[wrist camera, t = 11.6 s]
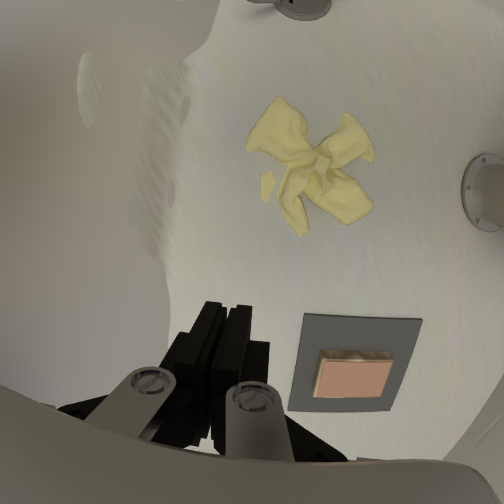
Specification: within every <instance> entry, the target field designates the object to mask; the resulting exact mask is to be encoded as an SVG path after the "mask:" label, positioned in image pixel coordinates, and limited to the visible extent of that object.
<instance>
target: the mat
mask: <svg viewBox="0 0 504 504" xmlns="http://www.w3.org/2000/svg"><path fill="white" fill-rule="evenodd" d="M422 321H423V320H422V319H414V318H379V317H356V316H338V315H321V314H307V313H304V318H303V325H302V331H301V338H300V344H299V350H298V356H297V362H296V367H295V373H294V378H293V384H292V389H291V394H290V400H289V405H288V411H297V412H375V411H390V409H391V407H392V404H393V402H394V400H395V397H396V395H397V393H398V390H399V388H400V385H401V383H402V380H403V378H404V375H405V372H406V370H407V367H408V364H409V361H410V359H411V356H412V353H413V350H414V347H415V344H416V341H417V338H418V335H419V331H420V328H421V325H422ZM320 350H336V351H390V353H391V355H392V357H393V359H394V361H393V364H392V367H391V370H390V373H389V376H388V379H387V381H386V384H385V387H384V389H383V392H382V395H381V397H366V398H323V397H313V392H312V386H313V382H314V377H315V373H316V368H317V364H318V359H319V354H320Z"/></svg>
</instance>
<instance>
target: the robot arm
mask: <svg viewBox="0 0 504 504" xmlns="http://www.w3.org/2000/svg"><path fill="white" fill-rule="evenodd" d="M462 200H463V205H464V209H465V212H466V214H467V216H468V218H469V220H470V221H471V222H472V224H473V225H474V226H475V227H477V228H479V229H480V230H483V231H486V232H495V231H498V230H500V229H501V228H503V227H504V160H503V159H502V158H500V157H499V156H497V155H494V154H483V155H479V156H478V157H476V158H475V159H474V160H473V161H472V162H471V163H470V164H469V166H468V167H467V170H466V172H465V175H464V178H463V184H462ZM251 319H252V306H248V305H238V304H237V307H236V308H231V309H230V312H229V315H228V318H227V307H222V303H219V302H210V301H206V303H205V304H204V306H203V308H202V310H201V312H200V314H199V315H198V317H197V319H196V321H195V323H194V325H193V327H192V328H191V330H190V332H189V333H186V332H179V333H178V335H177V337H176V338H175V340H174V342H173V343H172V345H171V347H170V348H169V350H168V352H167V354H166V355H165V357H164V359H163V360H162V362H161V364H160V366H159V367H143V368H139V369H137V370H135V371H133V372H132V373H130V374H129V375H128V376H127V377H126V378H125V379H124V380H123V381H122V382H121V383H120V384H119V385H118V386H117V387H116V388H115V389H114V391H112V392H111V393H110V394H109V395H105V396H101V397H98V398H94V399H89V400H85V401H82V402H77V403H73V404H69V405H65V406H62V407H60V408H58V409H56V407H55V406H53V405H48V404H43V403H39V402H37V401H35V400H33V399H31V398H28V397H26V396H24V395H22V394H20V393H18V392H16V391H13V390H11V389H9V388H7V387H5V386H3V385H0V504H501V502H500V500H499V498H498V497H497V495H496V493H495V492H494V490H493V489H492V487H491V486H490V484H489V483H488V481H487V480H486V479H485V478H484V477H483V476H482V475H481V474H480V473H479V472H478V471H477V470H475V469H473V468H471V467H469V466H466V465H463V464H460V463H455V462H448V461H441V460H427V459H395V460H380V459H369V458H360V457H357V459H356V461H354V460H347V458H346V457H345V456H344V455H343V454H342V453H341V452H339V451H338V450H336V449H335V448H333V447H332V446H330V445H329V444H327V443H326V442H324V441H323V440H321V439H320V438H318V437H317V436H315V435H314V434H312V433H311V432H309V431H308V430H306V429H305V428H303V427H302V426H301V425H299V424H298V423H296V422H295V421H293V420H292V419H291V418H289V417H288V416H286V415H285V414H284V410H283V406H282V401H281V397H280V395H279V393H278V391H277V390H276V389H274V388H273V387H272V386H270V385H268V384H267V379H268V364H269V348H270V342H263V341H252V340H250V332H251ZM210 425H211V440H214V448H215V449H216V450H217V451H218V452H219V454H220V455H217V454H210V453H204V452H198V451H193V450H188V449H183V448H185V447H188V446H190V445H192V446H197V447H199V443H200V440H201V438H204V439H207V436H208V433H209V429H210Z"/></svg>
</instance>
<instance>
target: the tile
mask: <svg viewBox="0 0 504 504" xmlns="http://www.w3.org/2000/svg"><path fill="white" fill-rule="evenodd" d="M393 361H394V359H393V357H392V355H391V353H390V351H336V350H320V354H319V359H318V364H317V368H316V373H315V377H314V382H313V386H312V392H313V397H323V398H366V397H381V395H382V392H383V389H384V387H385V384H386V381H387V379H388V376H389V373H390V370H391V367H392V364H393Z"/></svg>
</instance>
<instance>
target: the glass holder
mask: <svg viewBox="0 0 504 504" xmlns="http://www.w3.org/2000/svg"><path fill="white" fill-rule="evenodd" d="M247 1H249V2H252V3H274V5H275V7H276V8H277V9H278V11H279V12H281V13H282V14H283V15H285V16H287V17H289V18H292V19H295V20H300V21H312V20H316V19H319V18H321V17H323V16H325V15H326V14H327V13H328V11H329V10H330V8H331V0H247Z"/></svg>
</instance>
